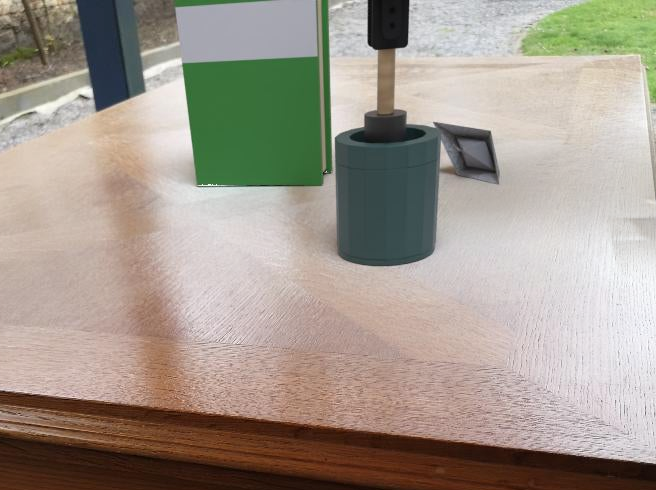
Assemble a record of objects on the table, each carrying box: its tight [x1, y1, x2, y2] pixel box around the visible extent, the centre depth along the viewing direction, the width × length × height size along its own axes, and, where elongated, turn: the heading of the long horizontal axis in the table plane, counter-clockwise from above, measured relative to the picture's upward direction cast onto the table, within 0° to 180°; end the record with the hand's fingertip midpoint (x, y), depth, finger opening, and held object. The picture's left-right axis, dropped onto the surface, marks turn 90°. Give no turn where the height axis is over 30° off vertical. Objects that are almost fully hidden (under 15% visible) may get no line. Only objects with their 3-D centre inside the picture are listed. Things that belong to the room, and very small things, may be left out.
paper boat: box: [432, 121, 501, 185], centre depth 100 cm, size 12×6×9 cm
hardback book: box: [173, 0, 333, 187], centre depth 102 cm, size 18×7×24 cm, turn 75°
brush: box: [363, 49, 408, 143], centre depth 72 cm, size 4×4×16 cm
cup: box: [334, 123, 442, 267], centre depth 78 cm, size 10×10×11 cm
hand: (387, 45), depth 71 cm, fingers closed on brush
